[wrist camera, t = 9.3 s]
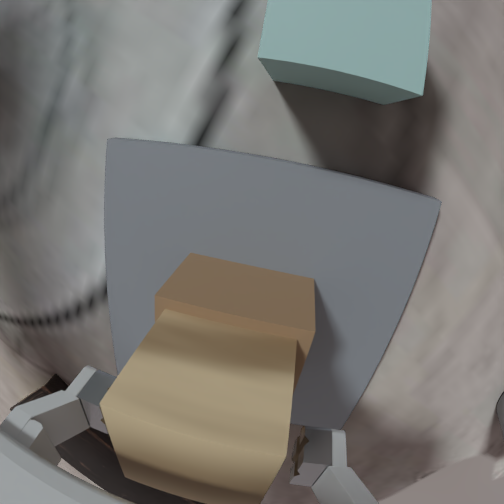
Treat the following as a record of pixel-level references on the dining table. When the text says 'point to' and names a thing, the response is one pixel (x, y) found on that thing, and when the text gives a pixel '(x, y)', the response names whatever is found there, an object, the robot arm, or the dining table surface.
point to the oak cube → (203, 409)
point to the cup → (501, 413)
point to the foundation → (264, 258)
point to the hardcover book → (102, 459)
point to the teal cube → (349, 46)
